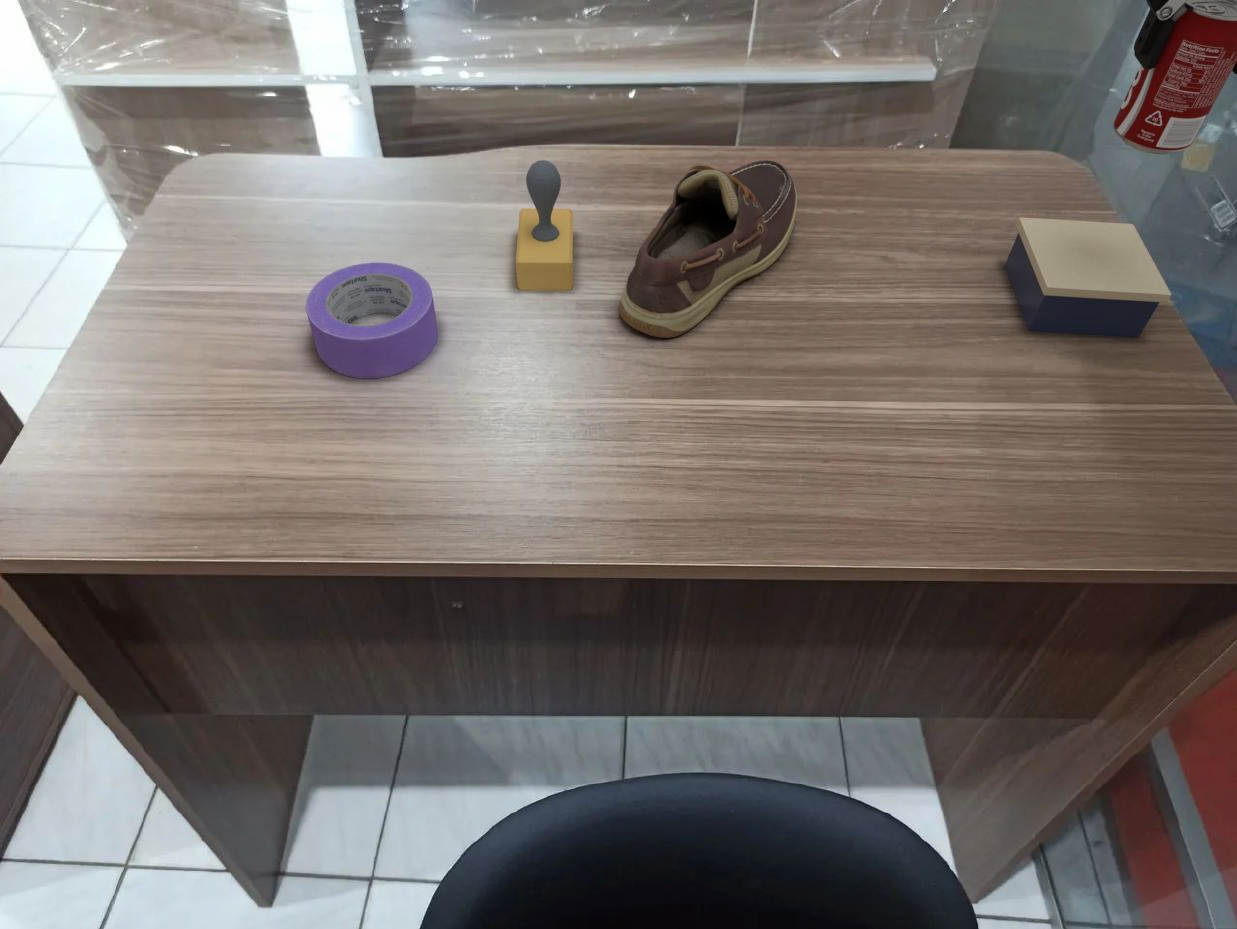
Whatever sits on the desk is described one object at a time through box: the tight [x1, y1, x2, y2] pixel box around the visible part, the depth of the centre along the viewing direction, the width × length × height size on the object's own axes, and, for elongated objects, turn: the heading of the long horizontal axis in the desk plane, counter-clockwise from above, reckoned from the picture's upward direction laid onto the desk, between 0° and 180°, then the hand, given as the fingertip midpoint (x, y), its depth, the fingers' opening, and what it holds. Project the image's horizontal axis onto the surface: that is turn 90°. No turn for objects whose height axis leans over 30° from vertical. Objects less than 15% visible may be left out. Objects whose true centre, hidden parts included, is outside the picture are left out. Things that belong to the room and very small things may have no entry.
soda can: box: [1112, 0, 1237, 155], centre depth 78 cm, size 7×7×12 cm
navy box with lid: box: [1004, 216, 1173, 339], centre depth 94 cm, size 12×12×6 cm
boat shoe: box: [618, 159, 798, 339], centre depth 95 cm, size 30×11×11 cm, turn 144°
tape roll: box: [305, 262, 439, 380], centre depth 87 cm, size 12×12×5 cm
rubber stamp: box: [515, 159, 574, 291], centre depth 93 cm, size 10×6×12 cm, turn 2°
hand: (1188, 62), depth 77 cm, fingers closed on soda can, 6 cm apart
